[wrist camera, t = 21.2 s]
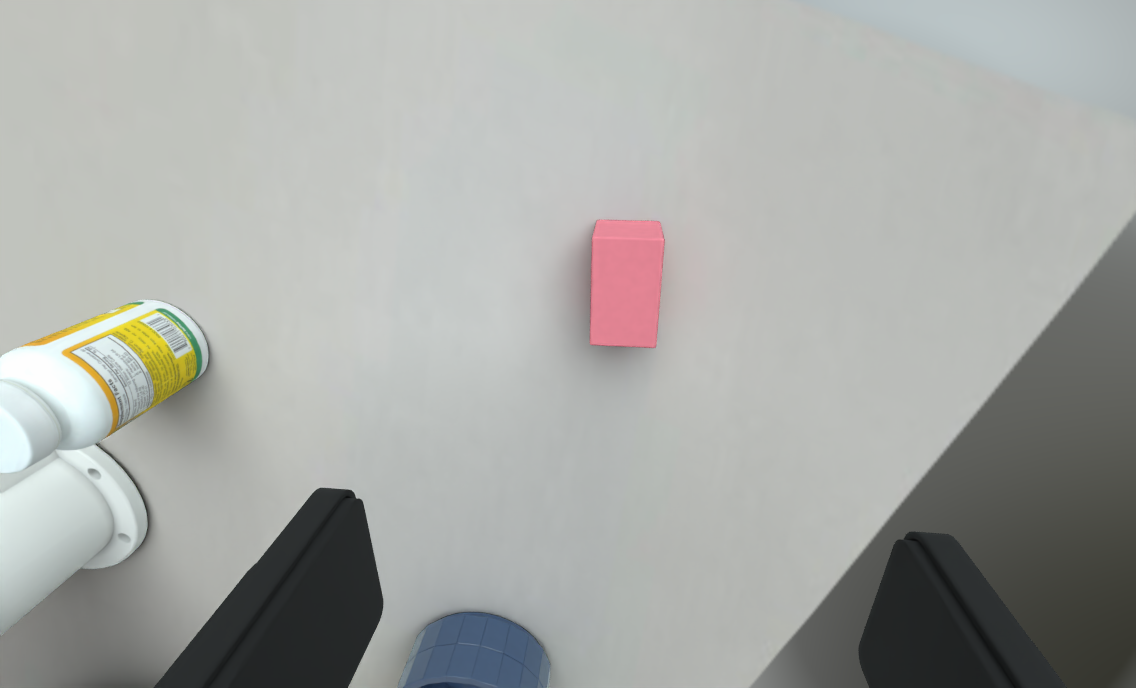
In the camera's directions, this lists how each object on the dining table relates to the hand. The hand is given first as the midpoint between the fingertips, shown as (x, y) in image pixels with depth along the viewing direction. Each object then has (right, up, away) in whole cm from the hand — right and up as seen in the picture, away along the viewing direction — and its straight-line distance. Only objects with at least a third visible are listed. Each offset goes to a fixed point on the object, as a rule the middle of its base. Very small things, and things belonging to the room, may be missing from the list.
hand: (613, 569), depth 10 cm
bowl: (-7, -19, +30) cm, 36 cm away
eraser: (+2, +8, +16) cm, 18 cm away
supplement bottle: (-24, +4, +21) cm, 32 cm away
